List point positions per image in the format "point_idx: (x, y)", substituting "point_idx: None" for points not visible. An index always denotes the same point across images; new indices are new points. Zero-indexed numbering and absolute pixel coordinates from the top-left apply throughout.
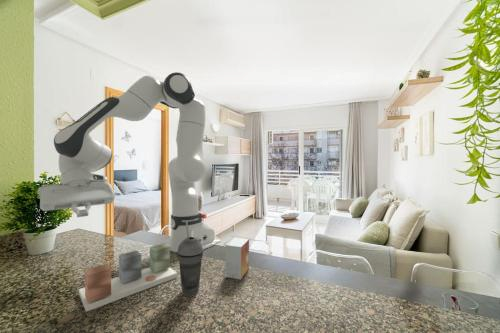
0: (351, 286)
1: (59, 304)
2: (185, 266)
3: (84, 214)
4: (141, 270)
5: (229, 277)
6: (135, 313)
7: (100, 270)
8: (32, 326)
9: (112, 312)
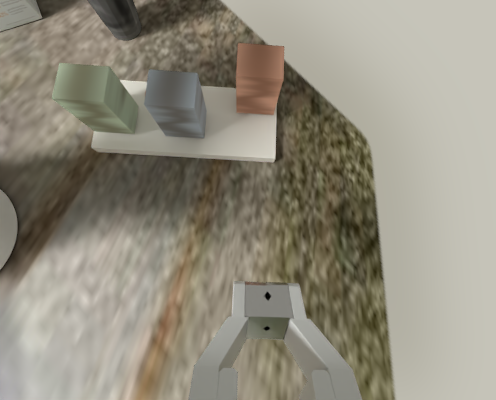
0: None
1: (304, 152)
2: None
3: (257, 282)
4: (151, 146)
5: (39, 10)
6: (221, 41)
7: (258, 49)
8: (339, 116)
9: None
